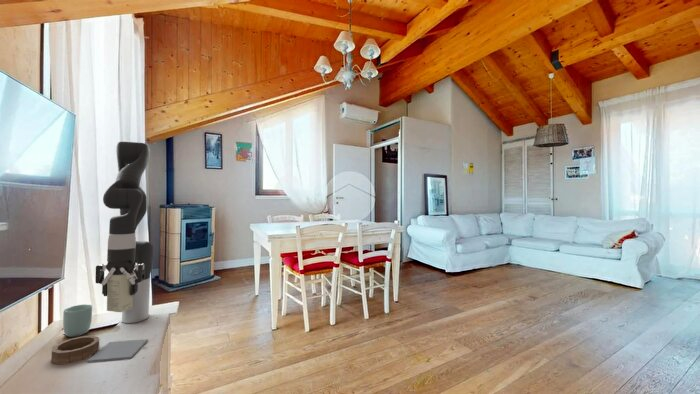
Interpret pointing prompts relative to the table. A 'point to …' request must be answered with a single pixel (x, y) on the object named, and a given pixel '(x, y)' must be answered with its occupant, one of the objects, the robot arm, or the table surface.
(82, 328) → the cup
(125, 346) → the mat
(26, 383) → the table surface
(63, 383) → the table surface
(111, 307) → the skincare box
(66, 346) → the holder ring
